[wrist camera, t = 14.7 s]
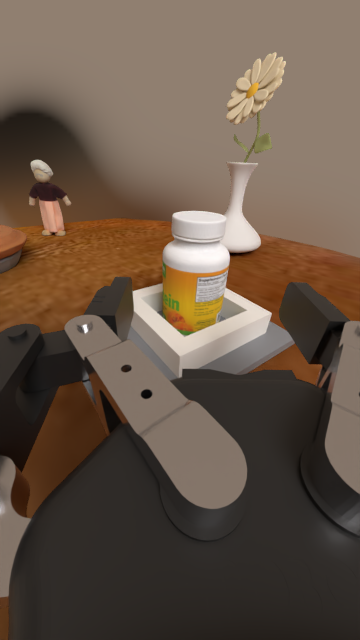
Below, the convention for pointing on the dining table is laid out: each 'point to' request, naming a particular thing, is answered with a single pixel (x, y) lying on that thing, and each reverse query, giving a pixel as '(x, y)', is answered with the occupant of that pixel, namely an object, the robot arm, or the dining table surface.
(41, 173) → the grandmother figurine
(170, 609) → the robot arm
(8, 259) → the pie
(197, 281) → the supplement bottle
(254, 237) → the flower in vase
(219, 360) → the socket plate
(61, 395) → the dining table surface
